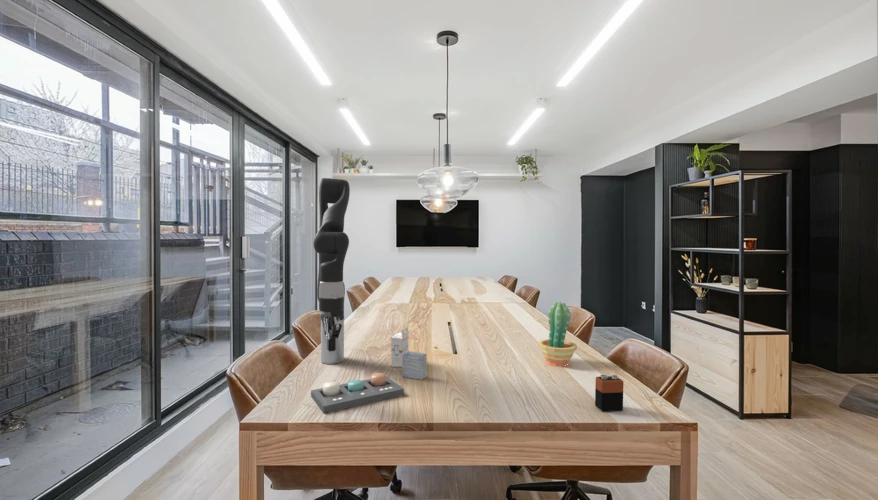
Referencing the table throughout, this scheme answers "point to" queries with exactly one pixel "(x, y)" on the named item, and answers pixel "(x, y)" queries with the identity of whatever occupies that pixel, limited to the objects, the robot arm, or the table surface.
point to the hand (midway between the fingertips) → (331, 350)
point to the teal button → (355, 385)
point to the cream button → (331, 389)
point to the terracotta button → (378, 379)
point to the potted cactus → (558, 336)
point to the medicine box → (414, 365)
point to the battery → (609, 393)
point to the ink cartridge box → (399, 348)
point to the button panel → (356, 395)
